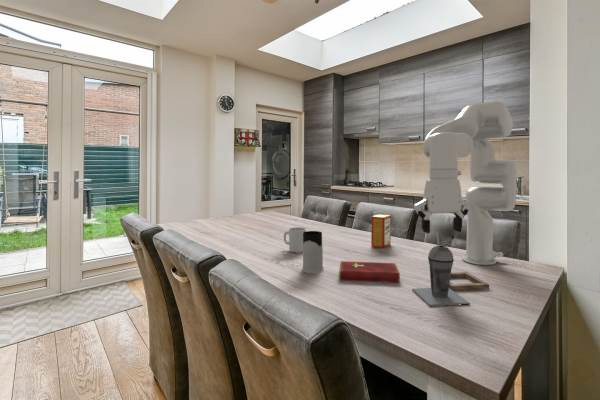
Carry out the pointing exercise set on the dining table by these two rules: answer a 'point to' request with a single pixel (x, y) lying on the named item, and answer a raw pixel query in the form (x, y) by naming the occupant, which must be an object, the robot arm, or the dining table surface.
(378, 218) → the baking soda box
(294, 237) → the mug
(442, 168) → the robot arm
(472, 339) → the dining table surface
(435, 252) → the beverage cup
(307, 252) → the glass holder
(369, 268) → the hardcover book
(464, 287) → the frame
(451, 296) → the slate mat
